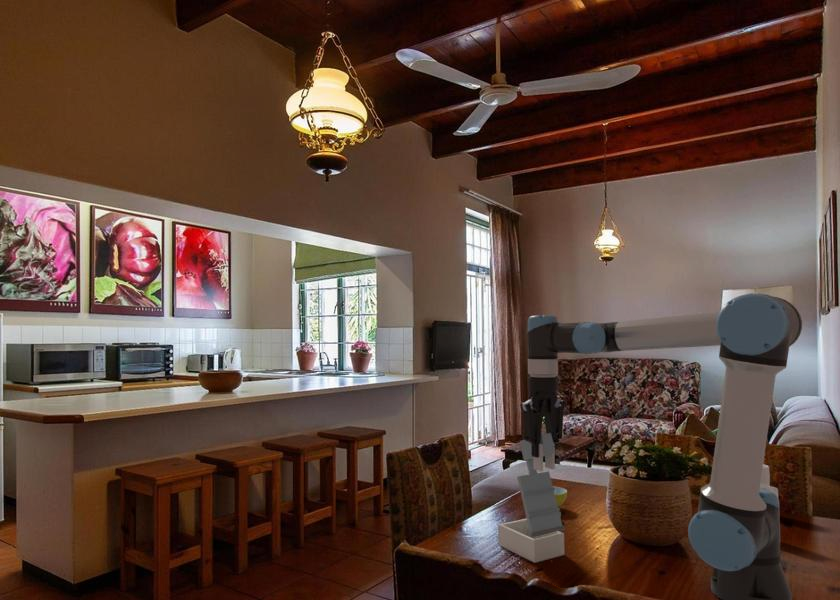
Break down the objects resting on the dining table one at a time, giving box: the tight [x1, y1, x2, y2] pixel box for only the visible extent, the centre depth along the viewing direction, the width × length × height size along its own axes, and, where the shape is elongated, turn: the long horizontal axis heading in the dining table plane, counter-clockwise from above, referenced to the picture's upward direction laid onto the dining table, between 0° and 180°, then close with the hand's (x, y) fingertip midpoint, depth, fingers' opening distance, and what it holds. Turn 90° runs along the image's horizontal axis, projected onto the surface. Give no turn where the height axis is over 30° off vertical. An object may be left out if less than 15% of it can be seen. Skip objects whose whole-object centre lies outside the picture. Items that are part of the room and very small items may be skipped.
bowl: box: [552, 485, 568, 508], centre depth 185 cm, size 11×12×6 cm
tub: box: [497, 517, 565, 563], centre depth 148 cm, size 14×10×6 cm
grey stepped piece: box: [517, 433, 566, 537], centre depth 144 cm, size 23×11×9 cm
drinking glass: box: [761, 463, 771, 491], centre depth 181 cm, size 7×7×15 cm
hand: (544, 468), depth 145 cm, fingers closed on grey stepped piece, 3 cm apart
